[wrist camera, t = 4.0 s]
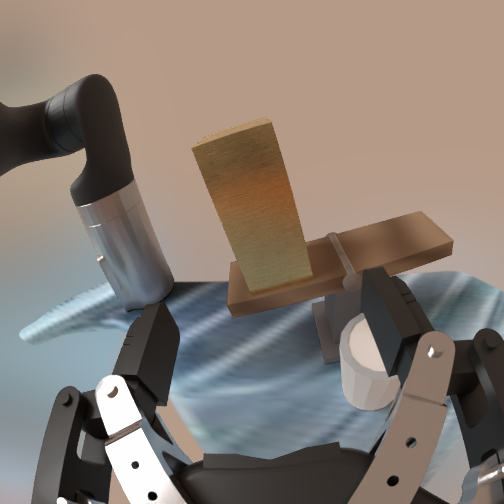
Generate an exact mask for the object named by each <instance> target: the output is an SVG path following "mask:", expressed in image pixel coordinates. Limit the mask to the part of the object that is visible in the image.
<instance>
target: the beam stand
mask: <svg viewBox="0 0 504 504" xmlns="http://www.w3.org/2000/svg"><path fill="white" fill-rule="evenodd" d="M361 290H362V286H361V287H360V288H359V289H358V290H356V291H354V292H348V291H346V290H343V291H340V292H336V293H332V294H329V295H325V301H323V302H318V303H312V311H313V315H314V319H315V324H316V328H317V332H318V336H319V340H320V345H321V349H322V353H323V358H324V362H325V364H329V363H334V362H339V361H340V348H339V345H340V339H341V332H342V331H343V330H344V328H345V327H346V325H347V324H348V322H349V321H350V320H352V319H353V318H355V317H356V316H358V315H359V314H360V312H361Z"/></svg>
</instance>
